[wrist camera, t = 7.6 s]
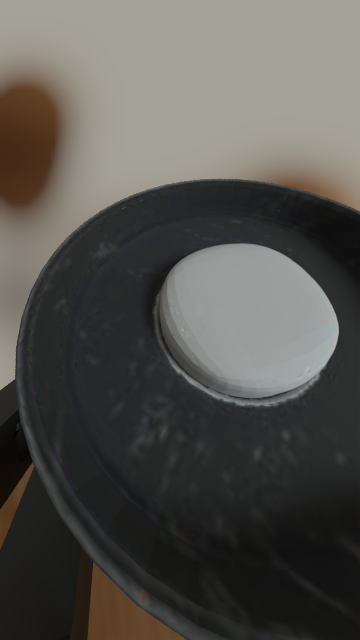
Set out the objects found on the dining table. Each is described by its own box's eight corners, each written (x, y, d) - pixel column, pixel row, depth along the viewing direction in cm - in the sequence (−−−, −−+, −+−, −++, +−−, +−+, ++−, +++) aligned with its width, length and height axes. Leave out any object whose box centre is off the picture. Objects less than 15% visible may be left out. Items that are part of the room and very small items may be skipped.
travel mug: (153, 370, 22) (72, 176, 5) (215, 366, 22) (350, 173, 5) (153, 447, 18) (-266, 876, 1) (228, 440, 19) (906, 657, 1)
